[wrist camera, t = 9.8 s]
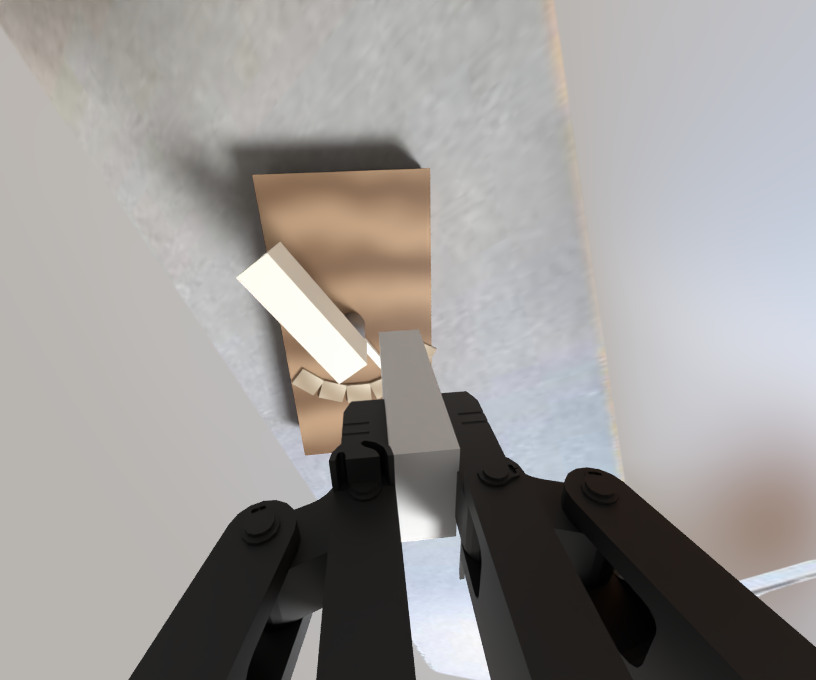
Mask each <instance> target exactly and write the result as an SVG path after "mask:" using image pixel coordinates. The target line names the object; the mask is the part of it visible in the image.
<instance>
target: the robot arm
mask: <svg viewBox="0 0 816 680" xmlns="http://www.w3.org/2000/svg"><path fill="white" fill-rule="evenodd" d="M379 345H380V362H381V380H382V396H383V399H376V400H364V401H351V403H350V404H349V405H348V407H347V408H346V409H345V411H344V413H343V426H342V438H341V444H340V445H339V446H338V447H337V448H336V449H335V450H334V451H333V452H332V454H331V457H330V459H329V466H330V473H331V480H332V487H333V488H332V489H331V490H330V491H329V492H328V493H327V494H326V495H325V496H323V497H322V498H321V499H319V500H317V501H315V502H313V503H311V504H308V505H306V506H303V507H300V508H298V509H295V510H294V509H293V508H291V506H289V505H288V504H287V503H284V502H281V501H277V500H272V501H262V502H260V503H257V504H254V505H251V506H249V507H248V508H247V509H245V510H243V511H242V512H240V513H239V514H238V515H237V516H236V517H235V518H234V519H233V520H232V522H231V523H230V524H229V525H228V527H227V528H226V530H225V531H224V533H223V534H222V536H221V538H220V539H219V541H218V542H217V544H216V545H215V547H214V548H213V550H212V551H211V553H210V555H209V556H208V558H207V559H206V561H205V562H204V564H203V565H202V567H201V568H200V570H199V572H198V573H197V575H196V576H195V578H194V579H193V581H192V582H191V584H190V586H189V587H188V589H187V590H186V592H185V593H184V595H183V596H182V598H181V599H180V601H179V602H178V604H177V606H176V607H175V609H174V610H173V612H172V613H171V615H170V617H169V618H168V620H167V621H166V623H165V624H164V626H163V627H162V629H161V630H160V632H159V633H158V635H157V637H156V638H155V640H154V641H153V643H152V645H151V646H150V647H149V649H148V650H147V652H146V653H145V655H144V657H143V658H142V660H141V661H140V663H139V664H138V666H137V667H136V669H135V670H134V672H133V674H132V675H131V677H130V678H129V680H291V677H292V674H293V671H294V668H295V665H296V662H297V658H298V655H299V652H300V649H301V646H302V643H303V640H304V637H305V634H306V631H307V628H308V625H309V622H310V619H311V616H312V613H313V612H315V611H317V610H319V609H321V608H323V610H322V622H321V634H320V644H319V655H318V667H317V678H316V680H416V676H415V667H414V657H413V647H412V638H411V628H410V619H409V610H408V600H407V591H406V581H405V572H404V562H403V553H402V543H401V542H408V541H417V540H426V539H435V538H444V537H453V536H456V523H457V526H458V530H459V534H460V537H461V549H460V567H459V575H460V579H464V576H465V577H466V581H467V585H468V589H469V593H470V597H471V601H472V605H473V609H474V613H475V617H476V621H477V625H478V629H479V633H480V637H481V641H482V645H483V649H484V653H485V657H486V661H487V666H488V670H489V674H490V678H491V680H816V647H815V646H814V645H813V644H811V643H810V642H809V641H808V640H807V639H806V638H805V637H803V636H802V635H801V634H799V632H797V631H796V630H795V629H794V628H793V627H792V626H790V625H789V624H788V623H787V622H786V621H785V620H784V619H782V618H781V617H780V616H779V615H778V614H777V613H775V612H774V611H773V610H772V609H771V608H770V607H768V606H767V605H766V604H765V603H764V602H763V601H761V600H760V599H759V598H758V597H757V596H756V595H754V594H753V593H752V592H751V591H750V590H749V589H747V588H746V587H745V586H744V585H743V584H742V583H740V582H739V581H738V580H737V579H735V577H733V576H732V575H731V574H730V573H729V572H727V571H726V570H725V569H724V568H723V567H722V566H721V565H719V564H718V563H717V562H716V561H715V560H714V559H712V558H711V557H710V556H709V555H708V554H707V553H706V552H704V551H703V550H702V549H701V548H700V547H699V546H697V545H696V544H695V543H694V542H693V541H692V540H690V539H689V538H688V537H687V536H686V535H685V534H683V533H682V532H681V531H680V530H679V529H678V528H676V527H675V526H674V525H673V524H671V522H669V521H668V520H667V519H666V518H665V517H664V516H662V515H661V514H660V513H659V512H658V511H657V510H655V509H654V508H653V507H652V506H651V505H649V504H648V503H647V502H646V501H645V500H644V499H642V498H641V497H640V496H639V495H638V494H637V493H635V492H634V491H633V490H632V489H631V488H630V487H629V486H627V485H626V484H625V483H624V482H623V481H621V480H620V479H618V478H617V477H615V476H614V475H612V474H610V473H607V472H605V471H602V470H600V469H594V468H587V467H586V468H579V469H575V470H573V471H571V472H570V473H568V475H567V477H566V479H565V482H564V483H563V482H557V481H551V480H544V479H539V478H535V477H531V476H529V475H526V474H525V473H524V471H523V470H522V469H521V467H520V466H519V465H518V464H517V463H515V462H514V461H512V460H511V459H509V458H507V457H505V455H504V453H503V451H502V449H501V447H500V445H499V443H498V441H497V439H496V437H495V435H494V433H493V431H492V429H491V427H490V425H489V423H488V422H487V418H486V416H485V414H484V413H483V410H482V408H481V406H480V404H479V402H478V400H477V399H475V398H474V397H473V396H472V395H470V394H469V393H468V392H467V391H464V392H452V393H441V392H440V389H439V386H438V383H437V380H436V377H435V375H434V372H433V369H432V366H431V363H430V360H429V357H428V354H427V351H426V348H425V346H424V343H423V340H422V337H421V334H420V331H419V330H404V331H387V332H379Z"/></svg>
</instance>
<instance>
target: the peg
mask: <svg viewBox="0 0 816 680" xmlns="http://www.w3.org/2000/svg"><path fill="white" fill-rule="evenodd" d="M237 279H238V280H239V281H240V282H241V283H242V284H243V285H244V286H245V288H246V289H247V290H248V291H249V292H250V293H251V294H252V295H253V296H254V297H255V298H256V299H257V300H258V301H259V302H260V303H261V304H262V305H263V306H264V307H265V308H266V309H267V310H268V311H269V312H270V313H271V314H272V315H273V316H274V317H275V318H276V319H277V320H278V322H279V323H280V324H281V325H282V326H283V327H284V328H285V329H286V330H287V331H288V332H289V333H290V334H291V335H292V336H293V337H294V338H295V339H296V340H297V341H298V342H299V343H300V344H301V345H302V346H303V347H304V348H305V349H306V350H307V351H308V352H309V353H310V354H311V356H312V357H313V358H314V359H315V360H316V361H317V362H318V363H319V364H320V365H321V366H322V367H323V368H324V369H325V370H326V371H327V372H328V373H329V374H330V375H331V376H332V377H333V378H334V379H335V380H336V381H337V382H338V383H339V384H340V383H342V382H343V381H344V380H346V379H347V378H349V377H350V376H352V375H353V374H355V373H356V372H357V371H359V370H360V369H362V368H363V367H365V366H366V365H367V354H368V355H369V356H370V357H371V359H372V360H373V361H374V362H375V363H376V364H377V365H378V366H379V368H380V369H381V362H380V354H379V353H378V352H377V351H376V350H375V348H374V347H373V346H372V345H371V344H370V343H369V341H368V340H367V339H366V338H365V322H364V319H363V318H362V317H361V316H360V315H358V314H356V313H347V314H345V315H343V313H342V312H341V311H340V310H339V309H338V308H337V307H336V305H335V304H334V303H333V302H332V301H331V300H330V299H329V297H328V296H327V295H326V294H325V293H324V292H323V290H322V289H321V288H320V287H319V286H318V285H317V284H316V282H315V281H314V280H313V279H312V278H311V277H310V275H309V274H308V273H307V272H306V271H305V270H304V269H303V267H302V266H301V265H300V264H299V263H298V262H297V261H296V259H295V258H294V257H293V256H292V255H291V254H290V252H289V251H288V250H287V249H286V248H285V247H284V246H283V244H282V243H281V242H279V243H278V244H276V245H275V246H274V247H273V248H271V249H270V250H269V251H268V252H266V253H265V254H264V255H263V256H261V257H260V258H259V259H258V260H256V261H255V262H254V263H253V264H252V265H250V266H249V267H248V268H247V269H246V270H245V271H243V272H242V273H241V274H240V275H239V276H238V277H237Z"/></svg>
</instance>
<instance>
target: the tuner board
mask: <svg viewBox="0 0 816 680" xmlns="http://www.w3.org/2000/svg"><path fill="white" fill-rule="evenodd" d="M252 177H253V182H254V188H255V193H256V198H257V203H258V209H259V214H260V219H261V225H262V230H263V235H264V240H265V246H266V251H267V252H268V251H269V250H270V249H271V248H273V247H274V246H275V245H276V244H278V243H279V242H281V243H282V244H283V246H284V247H285V248H286V249H287V250H288V251H289V252H290V254H291V255H292V256H293V257H294V258H295V259H296V261H297V262H298V263H299V264H300V265H301V266H302V267H303V269H304V270H305V271H306V272H307V273H308V274H309V275H310V277H311V278H312V279H313V280H314V281H315V282H316V284H317V285H318V286H319V287H320V288H321V289H322V290H323V292H324V293H325V294H326V295H327V296H328V297H329V299H330V300H331V301H332V302H333V303H334V304H335V305H336V307H337V308H338V309H339V310H340V311H341V312H342V313H343V315H345V314H347V313H356V314H358V315H360V316H361V317H362V318H363V319H364V322H365V338H366V339H367V340H368V341H369V343H370V344H371V345H372V346H373V347H374V348H375V350H376V351H377V352H378V353H379V354H380V345H379V332H387V331H404V330H419V331H420V334H421V337H422V340H423V343H424V346H425V348H426V351H427V354H428V357H429V360H430V363H431V358H432V356H433V354H434V353H435V351H436V348H435V347H433V346H431V233H430V168H421V169H393V170H366V171H339V172H312V173H284V174H260V175H252ZM280 325H281V324H280ZM281 330H282V336H283V341H284V346H285V351H286V357H287V362H288V367H289V373H290V378H291V383H292V388H293V394H294V399H295V404H296V410H297V415H298V420H299V425H300V431H301V436H302V441H303V447H304V452H305V455H314V454H324V453H332V452H333V451H334V450H335V449H336V448H337V447H338V446H339V445H340V444H341V438H342V426H343V413H344V411H345V409H346V408H347V407H348V405H349V404H350V403H351V401H364V400H376V399H383V396H382V380H381V369H380V368H379V366H378V365H377V364H376V363H375V362H374V361H373V360H372V359H371V357H370V356H369V355H368V354H367V365H366V366H365V367H363V368H362V369H360V370H359V371H357V372H356V373H355V374H353V375H352V376H350V377H349V378H347V379H346V380H344V381H343V382H342V383H340V384H339V383H338V382H337V381H336V380H335V379H334V378H333V377H332V376H331V375H330V374H329V373H328V372H327V371H326V370H325V369H324V368H323V367H322V366H321V365H320V364H319V363H318V362H317V361H316V360H315V359H314V358H313V357H312V356H311V354H310V353H309V352H308V351H307V350H306V349H305V348H304V347H303V346H302V345H301V344H300V343H299V342H298V341H297V340H296V339H295V338H294V337H293V336H292V335H291V334H290V333H289V332H288V331H287V330H286V329H285V328H284V327H283V326H282V325H281ZM431 366H432V365H431Z"/></svg>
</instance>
